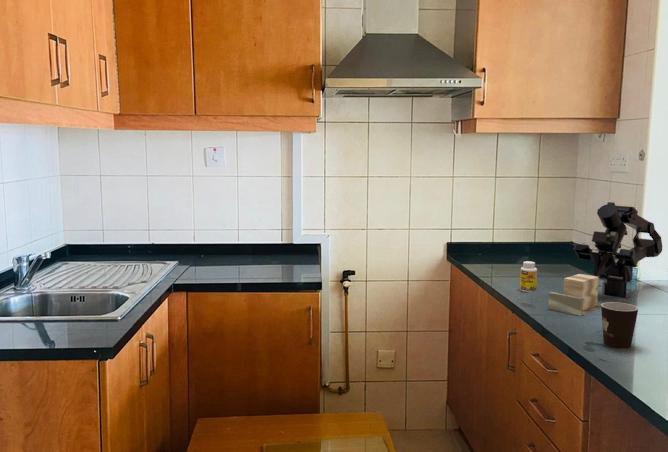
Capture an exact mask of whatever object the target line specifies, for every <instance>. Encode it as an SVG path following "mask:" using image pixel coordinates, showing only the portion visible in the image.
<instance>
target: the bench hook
mask: <svg viewBox="0 0 668 452" xmlns="http://www.w3.org/2000/svg"><path fill="white" fill-rule="evenodd" d="M547 308H548V310H551V311H556V312H560V313H565V314H569V315H574V316H578V317H579V316H580V317H581V316H583V315H586V314H588V313H592V312H593V311H594V312H595V310H599V309H601V304H600V303H597V305H596V306H594V307H591V308H589V309H586V310H583V298H580V297H575V296H570V295H565V294H563V293H559V292H555V291H554V292H553V291H550V292H548V307H547Z"/></svg>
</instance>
